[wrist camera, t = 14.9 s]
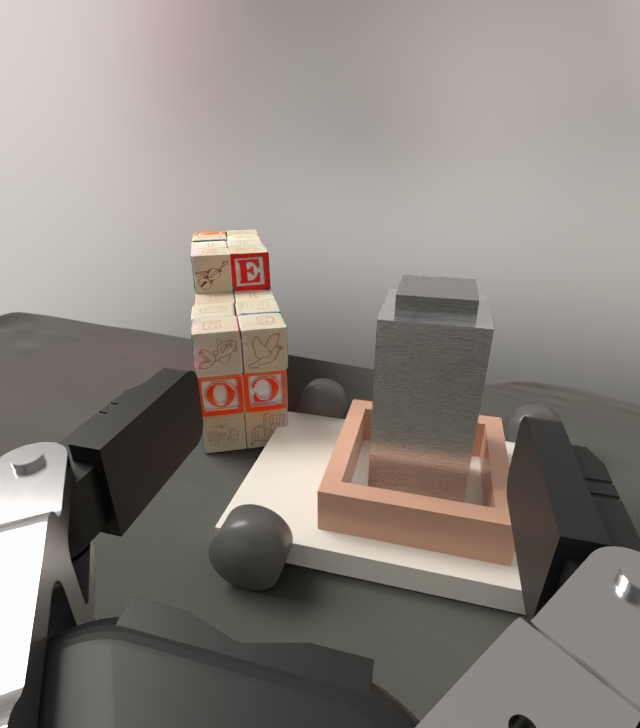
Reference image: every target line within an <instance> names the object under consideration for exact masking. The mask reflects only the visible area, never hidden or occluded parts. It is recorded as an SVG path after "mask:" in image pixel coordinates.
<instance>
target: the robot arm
mask: <svg viewBox="0 0 640 728" xmlns="http://www.w3.org/2000/svg"><path fill="white" fill-rule="evenodd" d="M202 431H203V416H202V408H201V399H200V391H199V383H198V378H197V375H196V373H195V372H194V371H189V370H182V369H174V368H163V369H162V370H160V371H159V372H158V373H157V374H155V375H154V376H153V377H152V378H150V379H149V380H148V381H147V382H145V383H143V384H140V385H138V386H136V387H134V388H131V389H129V390H127V391H125V392H123V393H122V394H121V395H120V396H118V397H117V398H116V399H114V400H113V401H112V402H111V405H109V404H108V405H107V406H105V407H104V408H103V409H102V410H100V411H99V414H95V415H94V416H93V417H91V418H90V419H89V420H87V421H86V422H85V423H84V424H82V425H81V426H80V427H78V428H77V429H76V430H75V431H73V432H72V433H71V434H69V435H68V436H67V437H66V438H64V439H63V440H62V441H60V442H59V443H53V442H40V443H33V444H29V445H25V446H22V447H19V448H17V449H14V450H12V451H10V452H8V453H6V454H5V455H3V456H2V457H0V728H640V538H639V536H638V534H637V532H636V530H635V528H634V526H633V524H632V522H631V520H630V517H629V515H628V513H627V511H626V509H625V507H624V505H623V503H622V501H620V500H619V498H620V497H619V494H618V492H617V490H616V488H615V486H614V485H612V480H611V478H610V476H609V474H608V471H607V469H606V467H605V465H604V464H603V463H602V462H601V461H600V460H599V459H598V458H597V457H596V456H595V455H594V454H593V453H592V452H591V451H589V450H588V449H587V448H586V447H581V446H574V445H571V443H570V441H569V438H568V436H567V433H566V431H565V428H564V426H563V423H562V422H561V421H558V420H551V419H543V418H536V417H528V416H524V417H523V418H522V420H521V423H520V427H519V431H518V435H517V439H516V443H515V447H514V451H513V455H512V459H511V463H510V467H509V472H508V478H507V502H508V508H509V514H510V521H511V527H512V533H513V539H514V545H515V552H516V558H517V564H518V570H519V576H520V583H521V589H522V595H523V601H524V607H525V614H526V617H525V616H521V617H519V618H518V619H516V620H515V621H514V622H513V623H512V624H511V625H510V626H509V627H508V628H507V629H506V630H505V631H504V632H503V633H502V634H501V635H500V637H499V638H498V639H497V640H496V641H495V642H494V643H493V644H492V645H491V646H490V647H489V648H488V649H487V651H486V652H485V653H484V654H483V655H482V656H481V657H480V658H479V659H478V660H477V661H476V662H475V663H474V665H473V666H472V667H471V668H470V669H469V670H468V671H467V672H466V673H465V674H464V675H463V676H462V677H461V679H460V680H459V681H458V682H457V683H456V684H455V685H454V686H453V687H452V688H451V689H450V690H449V691H448V693H447V694H446V695H445V696H444V697H443V698H442V699H441V700H440V701H439V702H438V703H437V704H436V705H435V707H434V708H433V709H432V710H431V711H430V712H429V713H428V714H427V715H426V716H425V717H424V718H423V719H422V721H421V722H419V720H418V719H417V718H416V717H415V716H414V715H413V714H412V713H411V712H410V711H409V710H408V709H407V708H406V707H405V706H404V705H403V704H402V703H401V702H400V701H399V700H397V699H396V698H395V697H393V696H392V695H391V694H389V693H388V692H387V691H385V690H384V689H382V688H380V687H379V686H377V685H375V684H374V683H372V674H373V664H374V660H373V659H369V658H366V657H362V656H358V655H354V654H350V653H346V652H342V651H339V650H335V649H331V648H327V647H323V646H319V645H315V644H312V643H240V642H237V641H235V640H233V639H231V638H230V637H228V636H227V635H225V634H223V633H222V632H220V631H219V630H217V629H215V628H214V627H212V626H210V625H209V624H207V623H206V622H204V621H202V620H201V619H199V618H197V617H196V616H194V615H193V614H191V613H189V612H188V611H184V610H180V609H177V608H173V607H169V606H165V605H161V604H157V603H153V602H150V601H146V600H142V599H138V598H134V597H133V599H132V600H131V602H130V603H129V605H128V606H127V607H126V609H125V610H124V612H123V613H122V615H121V616H120V617H113V618H106V619H99V620H95V621H94V603H95V545H94V542H93V539H94V538H95V537H96V536H97V535H98V533H99V532H103V533H108V534H112V535H116V536H122V535H123V534H124V533H125V532H126V530H127V529H128V528H129V527H130V526H131V524H132V523H133V522H134V521H135V520H136V518H137V517H138V516H139V515H140V513H141V512H142V511H143V510H144V509H145V507H146V506H147V505H148V504H149V503H150V501H151V500H152V499H153V498H154V496H155V495H156V494H157V493H158V492H159V490H160V489H161V488H162V487H163V486H164V484H165V483H166V482H167V481H168V480H169V478H170V477H171V476H172V475H173V473H174V472H175V471H176V470H177V469H178V467H179V466H180V465H181V464H182V463H183V461H184V460H185V459H186V458H187V457H188V455H189V454H190V453H191V452H192V450H193V449H194V448H195V447H196V446H197V444H198V442H199V441H200V438H201V435H202Z"/></svg>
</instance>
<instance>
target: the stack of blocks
mask: <svg viewBox="0 0 640 728" xmlns="http://www.w3.org/2000/svg"><path fill="white" fill-rule="evenodd" d="M191 262H192V271H193V279H194V288H195V300H194V306H193V307H192V313H191V340H192V348H193V355H194V363H195V370H196V375H197V378H198V383H199V391H200V399H201V408H202V416H203V431H202V436H203V443H204V452H205V453H215V452H224V451H231V450H239V449H245V448H257V447H265V446H266V444H267V443H268V441H269V439H270V438H271V436H272V435H273V433H274V431H275V430H276V428H277V427H284V426H288V414H287V407H288V390H287V370H286V369H287V368H288V345H287V327H286V324H285V322H284V320H283V317H282V316H281V313H280V309H279V307H278V305H277V303H276V301H275V298H274V296H273V294H272V292H271V291H270V289H271V287H270V270H269V255H268V251H267V249H266V248H265V246H263V244H262V243H261V239H260V237H259V236H258V233H257V231H256V230H234V231H233V230H229V231H226V232H225V231H214V232H213V231H212V232H195V233H194V236H193V243H191Z"/></svg>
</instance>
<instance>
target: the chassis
mask: <svg viewBox="0 0 640 728" xmlns="http://www.w3.org/2000/svg"><path fill="white" fill-rule="evenodd" d="M347 407H348V396H347V393H346V391H345V390H344V388H343V387H342V386H341V385H340V384H338V383H337V382H335V381H333V380H330V379H325V378H320V379H316V380H313V381H311V382H310V383H309V384H308V385H307V386H306V388H305V389H304V391H303V393H302V394H301V396H300V398H299V399H298V401H297V404H296V412H289V411H287V414H288V426H284V427H277V428H276V430H275V431H274V433H273V435H272V436H271V438H270V439H269V441H268V443H267V444H266V446H265V448H264V449H263V451H262V452H261V454H260V456H259V457H258V459H257V460H256V462H255V464H254V465H253V467H252V468H251V470H250V472H249V473H248V475H247V476H246V478H245V480H244V481H243V483H242V485H241V486H240V488H239V489H238V491H237V493H236V494H235V496H234V497H233V499H232V501H231V502H230V504H229V505H228V507H227V509H226V510H225V512H224V513H223V515H222V517H221V518H220V520H219V522H218V523H217V525H216V526H215V531H216V536H215V538H214V539H213V541H212V543H211V545H210V547H209V558H210V561H211V564H212V566H213V567H214V569H215V570H216V571H217V572H218V574H219V575H220V576H221V577H223V578H224V579H225V580H227V581H228V582H229V583H231V584H233V585H235V586H237V587H240V588H242V589H246V590H251V591H262V590H266V589H269V588H271V587H272V586H274V585H275V584H276V583H277V581H278V579H279V577H280V574H281V572H282V569H283V567H284V564H285V563H289V564H294V565H298V566H303V567H308V568H312V569H317V570H321V571H326V572H331V573H335V574H340V575H344V576H349V577H354V578H358V579H363V580H367V581H372V582H377V583H381V584H386V585H390V586H395V587H400V588H404V589H409V590H413V591H418V592H423V593H427V594H432V595H436V596H441V597H445V598H450V599H455V600H459V601H464V602H468V603H473V604H478V605H482V606H487V607H491V608H496V609H501V610H505V611H510V612H514V613H519V614H524V615H526V614H525V607H524V601H523V595H522V589H521V583H520V576H519V570H518V564H517V558H516V552H515V545H514V539H513V533H512V527H511V521H510V514H509V508H508V502H507V478H508V472H509V467H510V463H511V459H512V455H513V451H514V447H515V443H516V439H517V435H518V431H519V427H520V423H521V420H522V418H523V417H524V416H528V417H536V418H543V419H551V420H558V421H561V420H560V417H559V416H558V414H557V413H556V412H555V411H554V410H553V409H552V408H550V407H548V406H546V405H543V404H537V403H530V404H525V405H522V406H519V407H517V408H516V409H514V410H513V411H512V412H511V413H510V414H509V415H508V417H507V419H506V423H505V429H506V434H507V439H508V442H507V441H505V438H504V432H503V427H502V421H501V418H498V417H490V416H482V415H479V418H478V424H477V430H476V436H475V441H474V447H473V453H472V459H471V464H470V470H469V476H468V482H467V487H466V493H465V499H464V503H463V502H457V501H452V500H446V499H440V498H434V497H428V496H422V495H416V494H410V493H404V492H399V491H393V490H387V489H381V488H375V487H369V486H368V474H369V456H370V438H371V420H372V401H364V400H356V399H353V401H352V404H351V407H350V409H349V412H348V414H347V417H346V419H343V417H344V414H345V412H346V409H347Z"/></svg>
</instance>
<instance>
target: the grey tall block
mask: <svg viewBox="0 0 640 728" xmlns="http://www.w3.org/2000/svg"><path fill="white" fill-rule="evenodd" d="M493 332H494V327H493V323H492V319H491V314H490V310H489V306H488V302H487V297H486V296H483V295H478V290H477V285H476V280H474V279H459V278H444V277H428V276H412V275H411V276H410V275H403V277H402V280H401V282H400V285H399V288H398V290H397V289H390V290H389V293H388V296H387V298H386V300H385V302H384V305H383V307H382V309H381V311H380V314H379V316H378V318H377V331H376V348H375V366H374V384H373V402H372V420H371V438H370V456H369V474H368V486H369V487H375V488H381V489H387V490H393V491H399V492H404V493H410V494H416V495H422V496H428V497H434V498H440V499H446V500H452V501H457V502H463V503H464V499H465V493H466V487H467V482H468V476H469V470H470V464H471V459H472V453H473V447H474V441H475V436H476V430H477V424H478V418H479V413H480V407H481V401H482V395H483V389H484V383H485V378H486V372H487V366H488V361H489V355H490V349H491V343H492V338H493Z"/></svg>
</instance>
